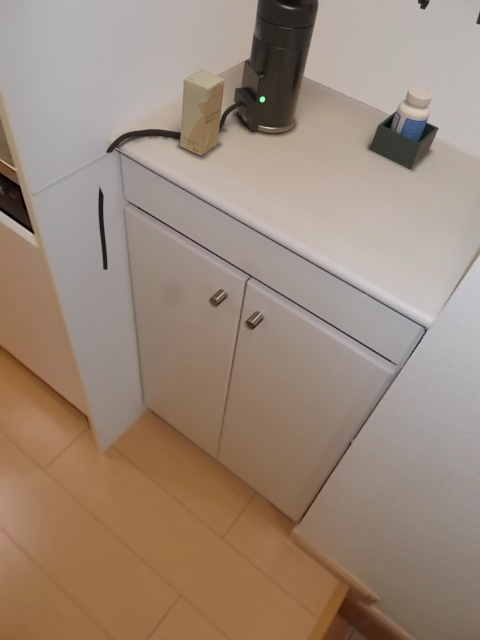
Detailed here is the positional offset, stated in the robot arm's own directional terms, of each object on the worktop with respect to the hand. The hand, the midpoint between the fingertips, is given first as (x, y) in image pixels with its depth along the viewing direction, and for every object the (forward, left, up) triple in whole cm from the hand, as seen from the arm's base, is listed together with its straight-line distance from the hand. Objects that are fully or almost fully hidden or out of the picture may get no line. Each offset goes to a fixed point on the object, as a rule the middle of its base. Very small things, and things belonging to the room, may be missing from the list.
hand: (452, 14), depth 75 cm
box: (-34, +10, -23) cm, 42 cm away
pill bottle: (+1, +1, -22) cm, 22 cm away
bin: (+1, +1, -23) cm, 23 cm away
